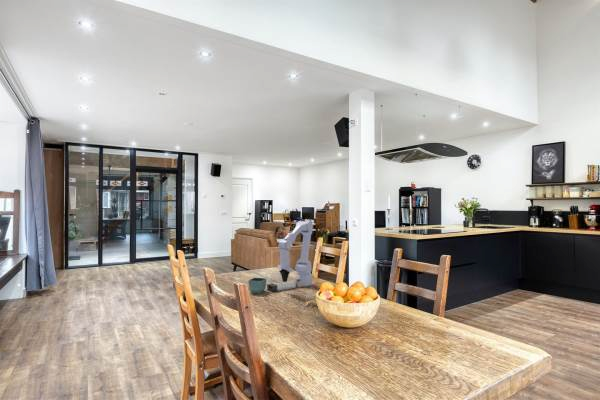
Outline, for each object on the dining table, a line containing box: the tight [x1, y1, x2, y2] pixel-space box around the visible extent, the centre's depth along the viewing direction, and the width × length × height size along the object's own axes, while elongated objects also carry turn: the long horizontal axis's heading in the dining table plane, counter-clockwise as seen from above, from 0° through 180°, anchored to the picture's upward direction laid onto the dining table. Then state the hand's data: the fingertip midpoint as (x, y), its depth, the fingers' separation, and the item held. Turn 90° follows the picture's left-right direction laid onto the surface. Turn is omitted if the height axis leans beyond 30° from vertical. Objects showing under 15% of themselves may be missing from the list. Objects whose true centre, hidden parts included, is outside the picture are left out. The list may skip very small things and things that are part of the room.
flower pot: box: [248, 277, 267, 294], centre depth 208 cm, size 9×9×9 cm
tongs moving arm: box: [269, 281, 296, 293], centre depth 214 cm, size 18×2×4 cm, turn 127°
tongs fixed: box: [266, 278, 304, 292], centre depth 217 cm, size 24×5×5 cm, turn 124°
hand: (284, 281), depth 208 cm, fingers closed
